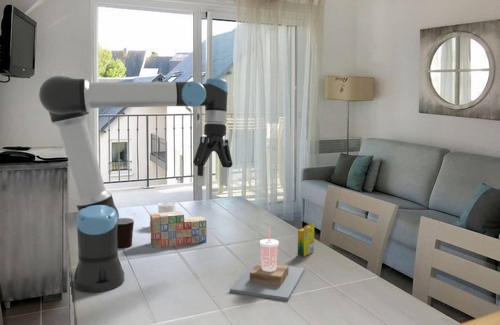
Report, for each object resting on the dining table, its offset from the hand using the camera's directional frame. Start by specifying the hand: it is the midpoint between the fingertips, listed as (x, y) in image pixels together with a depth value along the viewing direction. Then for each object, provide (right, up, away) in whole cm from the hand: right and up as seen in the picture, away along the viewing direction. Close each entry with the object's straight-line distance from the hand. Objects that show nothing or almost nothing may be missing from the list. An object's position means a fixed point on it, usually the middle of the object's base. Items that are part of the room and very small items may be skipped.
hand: (213, 185), depth 157 cm
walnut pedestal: (+19, -30, -11) cm, 37 cm away
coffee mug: (-36, -24, +22) cm, 49 cm away
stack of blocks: (-16, -24, +26) cm, 39 cm away
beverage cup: (+19, -26, -11) cm, 34 cm away
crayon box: (+34, -26, +14) cm, 45 cm away
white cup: (-24, -21, +49) cm, 58 cm away
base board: (+19, -30, -11) cm, 37 cm away
